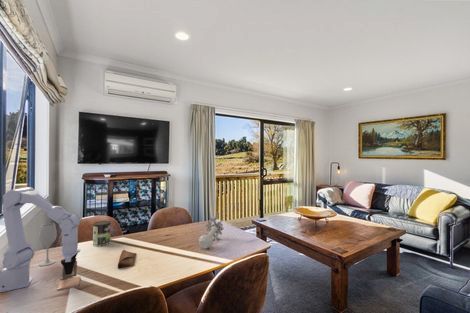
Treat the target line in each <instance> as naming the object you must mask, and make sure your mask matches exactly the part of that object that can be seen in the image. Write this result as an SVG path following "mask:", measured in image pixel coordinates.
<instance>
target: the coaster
mask: <svg viewBox="0 0 470 313" xmlns="http://www.w3.org/2000/svg"><path fill="white" fill-rule="evenodd" d="M80 281H81V275H79V276H73V277H69V278H68V279H65V280H61V281H60V280H59V282H58V285H57V288H56V291H62V290H65V289H70V288H74V287H78V286H80V283H81V282H80Z"/></svg>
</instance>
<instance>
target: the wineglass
mask: <svg viewBox="0 0 470 313" xmlns="http://www.w3.org/2000/svg"><path fill="white" fill-rule="evenodd" d="M39 228H40V229H39V233H38V241H39V243H40V244H41V245H43V246H45V247H46V260H44V261H40V262H39V263H38V266H39V267H45V266H46V265H47V266H51V265H53V264H55V263H56V259H49V248H50V246H51V245H52V244H53V243H54V242H55V241H56V239H57V235H58V232H57V227H56V223H55V222H53V223H51V222H50V223H45V224H42V225H40V227H39Z"/></svg>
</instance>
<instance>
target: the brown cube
mask: <svg viewBox="0 0 470 313" xmlns="http://www.w3.org/2000/svg"><path fill="white" fill-rule="evenodd" d="M62 269H63V279H64V278H68V279H70V278H74V277H77V272H78V260H76V261H75V263H74V266H73V270H72V274H70V275H66V274H65V270H64V267H63V266H62Z"/></svg>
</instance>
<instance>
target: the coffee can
mask: <svg viewBox="0 0 470 313" xmlns="http://www.w3.org/2000/svg"><path fill="white" fill-rule="evenodd" d="M111 224H112V223H111V221H110V220H101V221H96V222H93V224H92V225H93V227H92V229H93V230H92V232H93V234H92V246H93V247H102V246H101V245H103V246H106V245H105V244H107V243H109V242H110V243H111ZM110 243H109V244H110ZM107 245H108V244H107Z"/></svg>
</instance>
